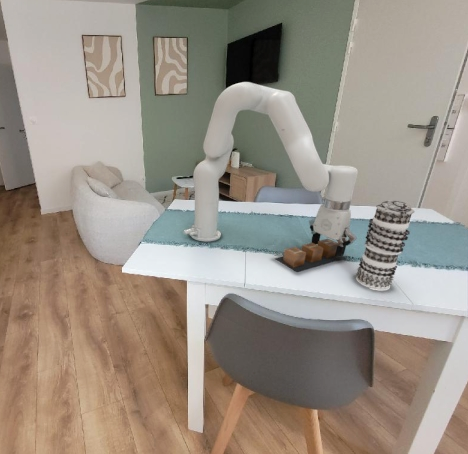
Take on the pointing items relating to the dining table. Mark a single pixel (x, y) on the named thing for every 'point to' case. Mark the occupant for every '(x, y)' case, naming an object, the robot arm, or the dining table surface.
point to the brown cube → (312, 252)
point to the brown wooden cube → (294, 257)
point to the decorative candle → (384, 244)
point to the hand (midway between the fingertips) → (326, 249)
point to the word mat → (310, 265)
